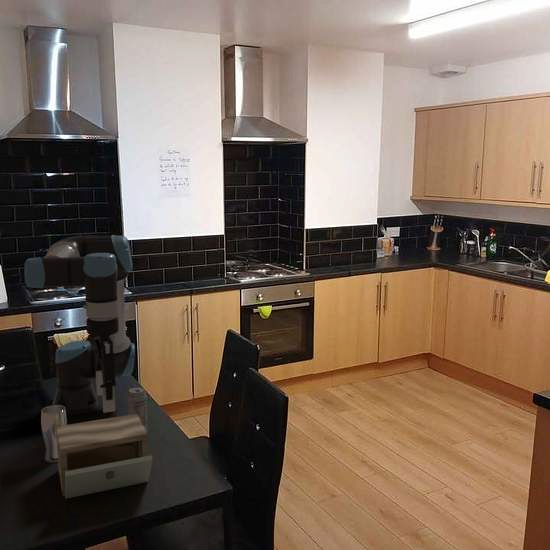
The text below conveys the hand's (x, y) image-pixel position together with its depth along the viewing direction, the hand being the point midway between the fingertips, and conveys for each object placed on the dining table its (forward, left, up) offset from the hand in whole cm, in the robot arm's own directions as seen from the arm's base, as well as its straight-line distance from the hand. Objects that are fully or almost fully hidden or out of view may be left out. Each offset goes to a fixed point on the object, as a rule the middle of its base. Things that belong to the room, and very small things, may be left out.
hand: (105, 402), depth 144 cm
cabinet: (-11, 0, -26) cm, 28 cm away
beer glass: (-28, -11, -26) cm, 40 cm away
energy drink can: (-34, +14, -26) cm, 45 cm away
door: (-2, 0, -25) cm, 25 cm away
